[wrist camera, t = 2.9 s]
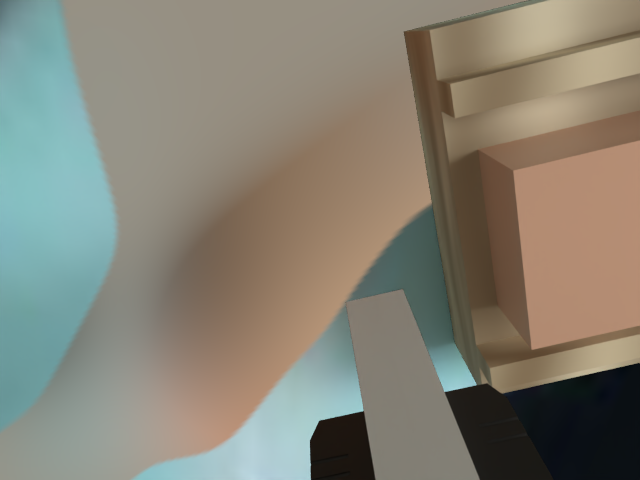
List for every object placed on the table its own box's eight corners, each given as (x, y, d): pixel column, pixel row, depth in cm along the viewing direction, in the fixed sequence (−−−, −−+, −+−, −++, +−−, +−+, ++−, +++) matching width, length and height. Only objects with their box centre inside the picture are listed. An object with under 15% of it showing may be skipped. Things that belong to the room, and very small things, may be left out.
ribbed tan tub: (455, 343, 25) (497, 422, 20) (403, 31, 20) (442, 29, 15) (753, 275, 24) (877, 338, 19) (778, -63, 19) (954, -99, 14)
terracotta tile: (497, 305, 20) (531, 350, 17) (478, 149, 18) (513, 170, 15) (658, 268, 19) (720, 307, 17) (658, 105, 17) (729, 119, 14)
